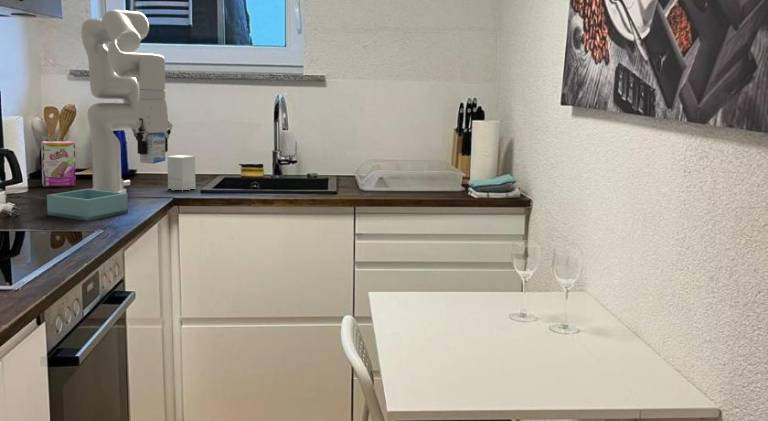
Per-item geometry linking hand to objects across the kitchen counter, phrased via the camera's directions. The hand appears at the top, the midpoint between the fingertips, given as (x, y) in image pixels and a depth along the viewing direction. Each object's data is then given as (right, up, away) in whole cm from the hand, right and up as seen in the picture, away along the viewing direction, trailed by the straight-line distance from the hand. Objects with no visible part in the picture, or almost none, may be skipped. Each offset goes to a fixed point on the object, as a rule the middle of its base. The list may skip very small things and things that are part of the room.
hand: (152, 152), depth 231 cm
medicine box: (0, -3, +1) cm, 3 cm away
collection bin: (-18, -19, -3) cm, 27 cm away
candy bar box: (-50, -9, +49) cm, 70 cm away
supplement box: (-5, -10, +50) cm, 51 cm away
